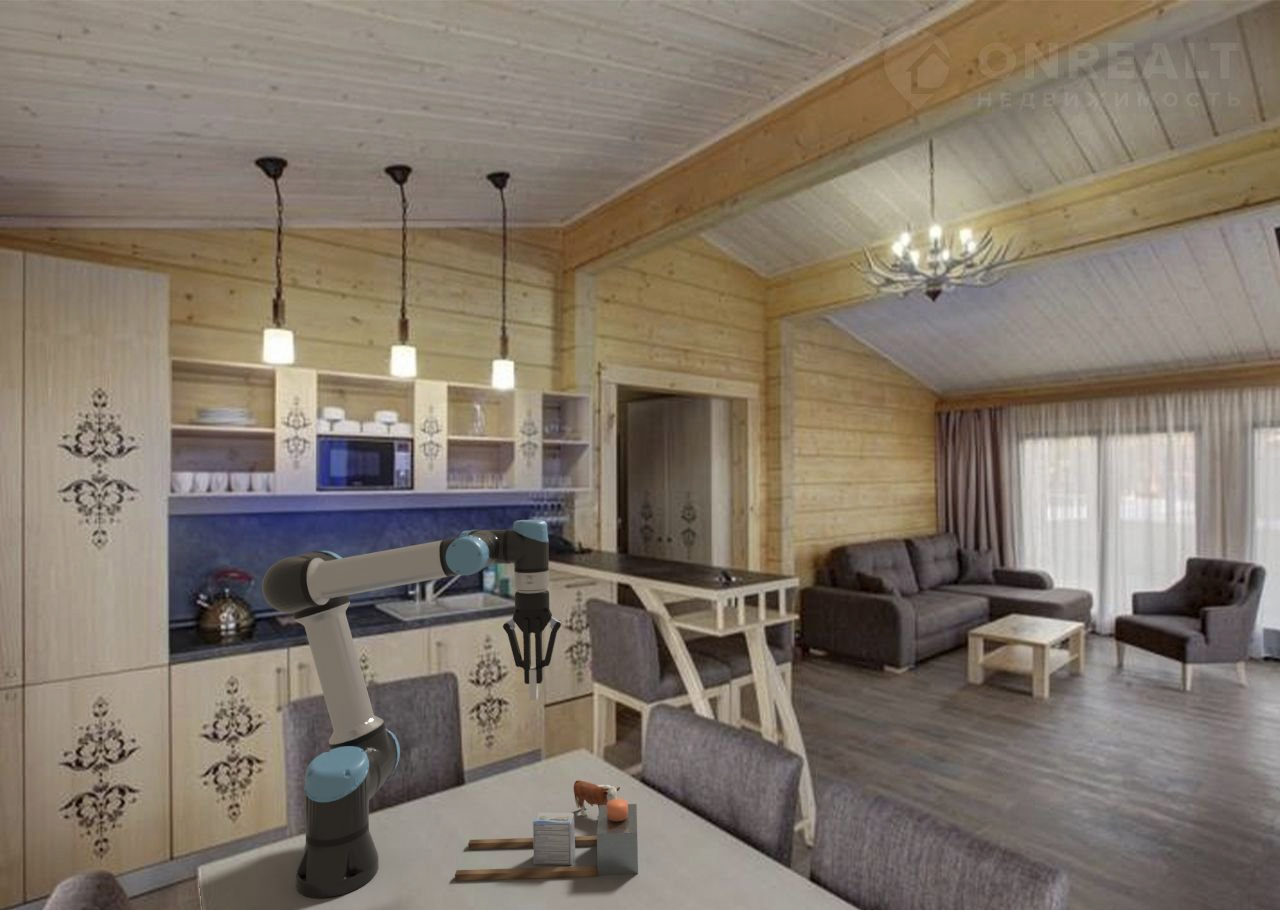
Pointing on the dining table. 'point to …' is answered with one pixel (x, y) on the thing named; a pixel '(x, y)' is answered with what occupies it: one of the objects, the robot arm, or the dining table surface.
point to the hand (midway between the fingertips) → (533, 698)
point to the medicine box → (554, 838)
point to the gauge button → (617, 809)
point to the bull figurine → (593, 794)
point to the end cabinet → (617, 843)
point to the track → (525, 872)
